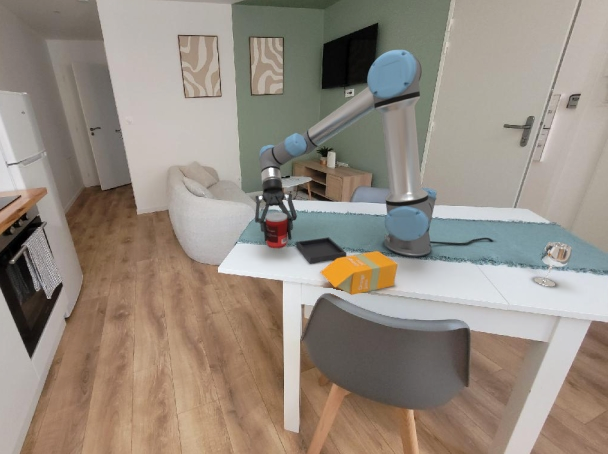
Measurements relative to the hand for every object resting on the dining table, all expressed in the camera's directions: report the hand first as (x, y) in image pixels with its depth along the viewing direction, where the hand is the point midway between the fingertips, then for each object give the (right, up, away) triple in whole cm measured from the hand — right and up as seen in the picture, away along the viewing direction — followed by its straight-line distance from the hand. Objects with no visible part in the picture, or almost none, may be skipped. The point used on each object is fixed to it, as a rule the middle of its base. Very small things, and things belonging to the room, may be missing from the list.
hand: (278, 238), depth 102 cm
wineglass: (+77, -12, -17) cm, 79 cm away
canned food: (0, -2, +5) cm, 5 cm away
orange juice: (+32, -8, -12) cm, 35 cm away
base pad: (+16, -5, +6) cm, 18 cm away
